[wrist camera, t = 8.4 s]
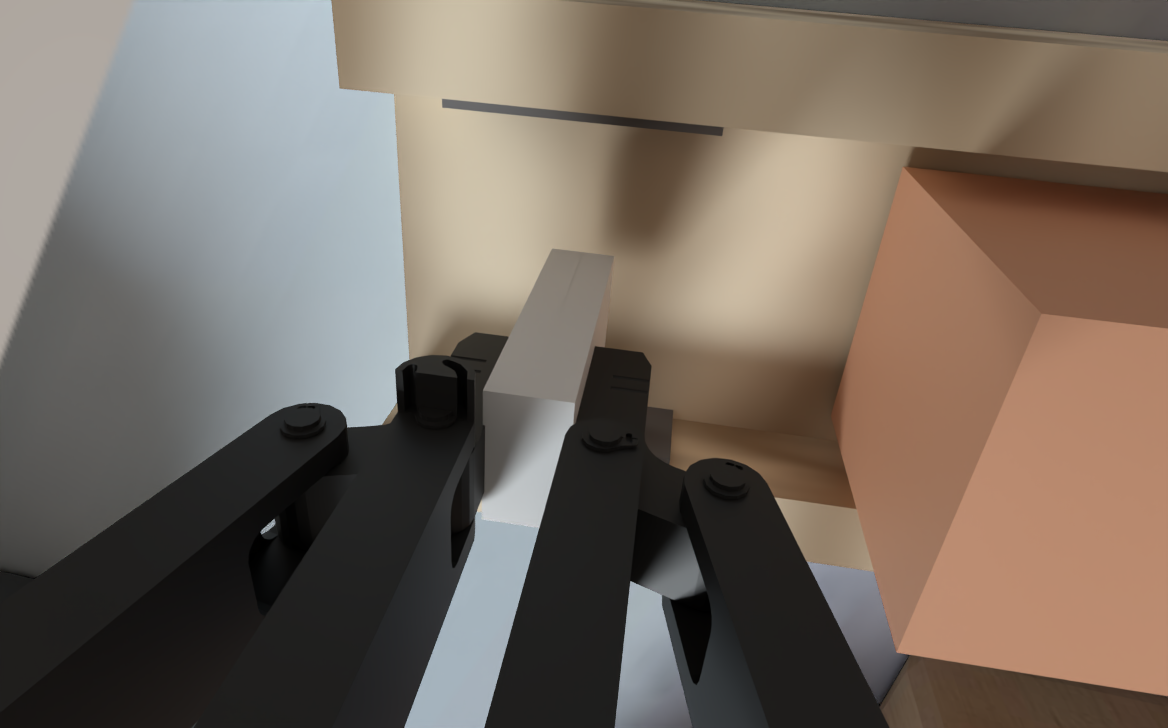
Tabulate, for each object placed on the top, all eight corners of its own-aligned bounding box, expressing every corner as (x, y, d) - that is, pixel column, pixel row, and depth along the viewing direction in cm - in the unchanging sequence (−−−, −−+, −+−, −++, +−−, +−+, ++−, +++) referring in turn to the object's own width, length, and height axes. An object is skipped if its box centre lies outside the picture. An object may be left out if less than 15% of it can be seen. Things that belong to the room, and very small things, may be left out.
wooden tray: (424, 418, 24) (363, 519, 20) (402, -26, 18) (305, -19, 13) (1192, 527, 22) (1311, 667, 18) (1489, 68, 15) (1794, 112, 11)
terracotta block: (830, 416, 20) (896, 652, 13) (902, 166, 17) (1041, 313, 10) (1092, 451, 20) (1301, 717, 13) (1223, 199, 16) (1607, 381, 9)
